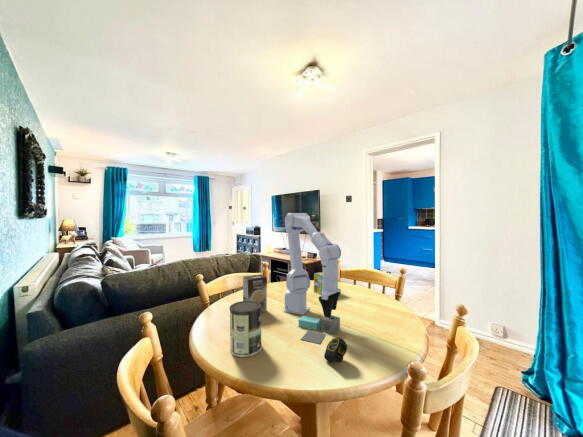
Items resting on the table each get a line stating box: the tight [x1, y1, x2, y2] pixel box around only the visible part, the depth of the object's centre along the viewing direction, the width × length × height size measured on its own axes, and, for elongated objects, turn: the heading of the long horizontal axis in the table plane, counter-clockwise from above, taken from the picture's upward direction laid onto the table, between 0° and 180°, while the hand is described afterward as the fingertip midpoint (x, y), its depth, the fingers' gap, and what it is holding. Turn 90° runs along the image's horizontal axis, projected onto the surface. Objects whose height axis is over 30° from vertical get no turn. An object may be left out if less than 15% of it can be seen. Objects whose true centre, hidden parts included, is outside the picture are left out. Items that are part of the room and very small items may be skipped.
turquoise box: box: [298, 315, 321, 332], centre depth 95 cm, size 8×4×3 cm, turn 66°
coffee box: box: [242, 274, 268, 313], centre depth 111 cm, size 9×6×16 cm
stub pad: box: [300, 330, 327, 345], centre depth 87 cm, size 7×7×1 cm
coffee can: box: [228, 300, 263, 358], centre depth 80 cm, size 10×10×14 cm
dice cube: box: [320, 314, 341, 335], centre depth 92 cm, size 5×5×5 cm
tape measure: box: [323, 336, 348, 363], centre depth 73 cm, size 7×7×4 cm
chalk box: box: [313, 272, 323, 296], centre depth 134 cm, size 9×9×15 cm
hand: (330, 313), depth 92 cm, fingers open, 7 cm apart
